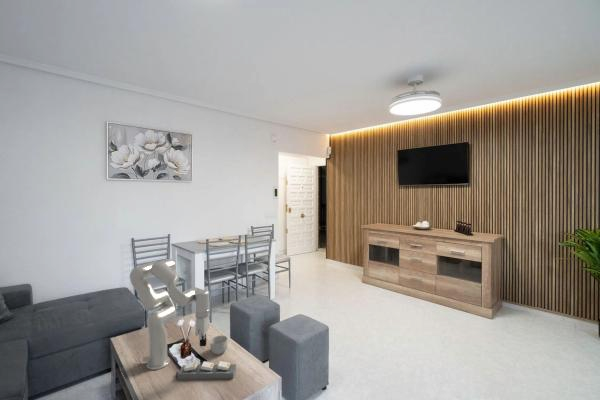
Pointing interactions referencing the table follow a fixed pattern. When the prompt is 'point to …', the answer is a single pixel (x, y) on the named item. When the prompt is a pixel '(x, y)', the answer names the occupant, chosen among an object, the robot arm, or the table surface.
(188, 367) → the rocker
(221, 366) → the rocker
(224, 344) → the teacup
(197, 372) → the grey rectangular tray
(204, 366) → the rocker
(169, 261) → the robot arm
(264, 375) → the table surface
